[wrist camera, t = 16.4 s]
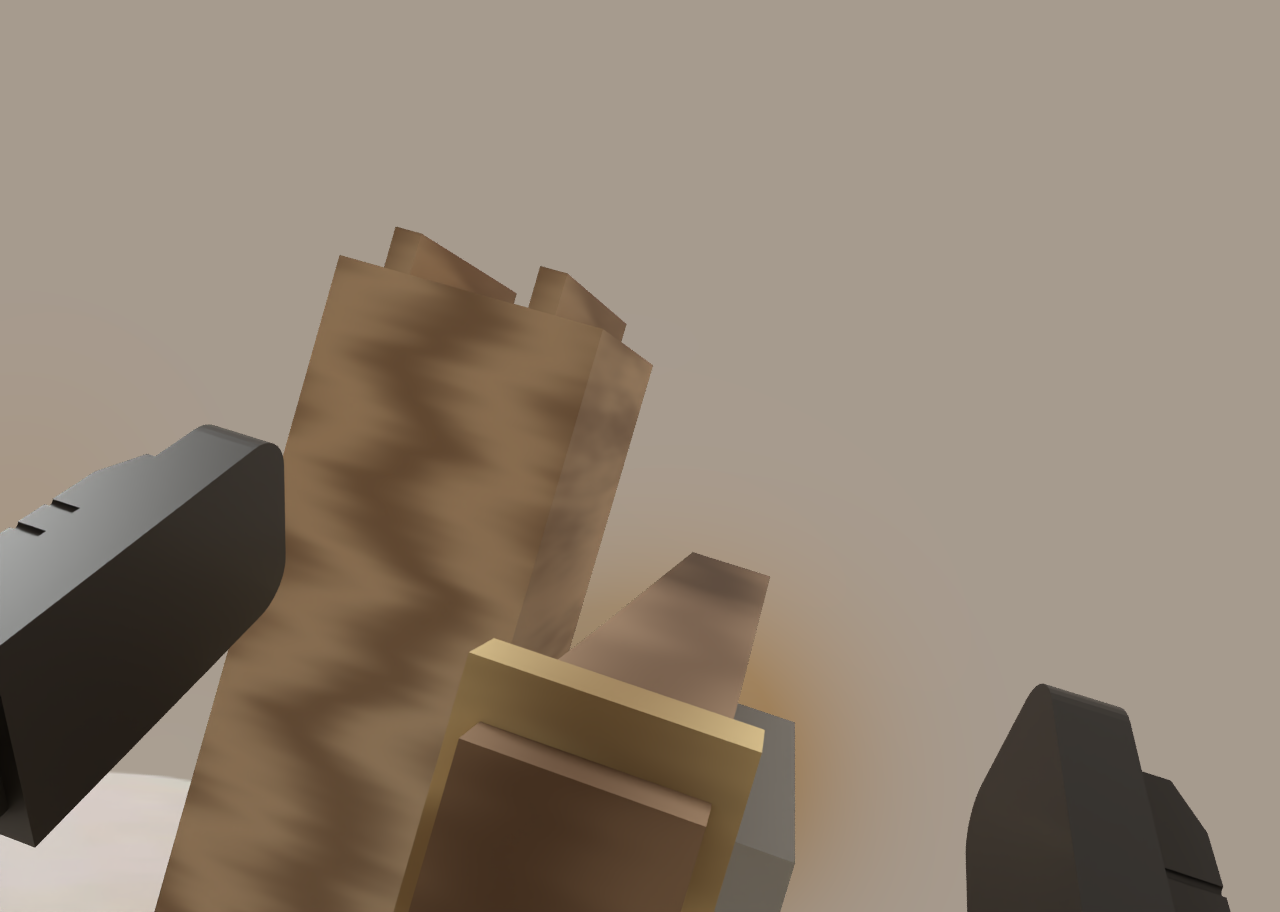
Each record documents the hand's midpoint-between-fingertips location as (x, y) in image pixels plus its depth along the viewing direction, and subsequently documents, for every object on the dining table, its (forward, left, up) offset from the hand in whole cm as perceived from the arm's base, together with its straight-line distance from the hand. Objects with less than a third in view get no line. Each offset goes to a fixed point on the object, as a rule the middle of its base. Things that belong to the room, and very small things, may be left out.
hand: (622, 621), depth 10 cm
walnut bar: (0, +18, -6) cm, 19 cm away
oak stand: (-11, +29, -27) cm, 41 cm away
